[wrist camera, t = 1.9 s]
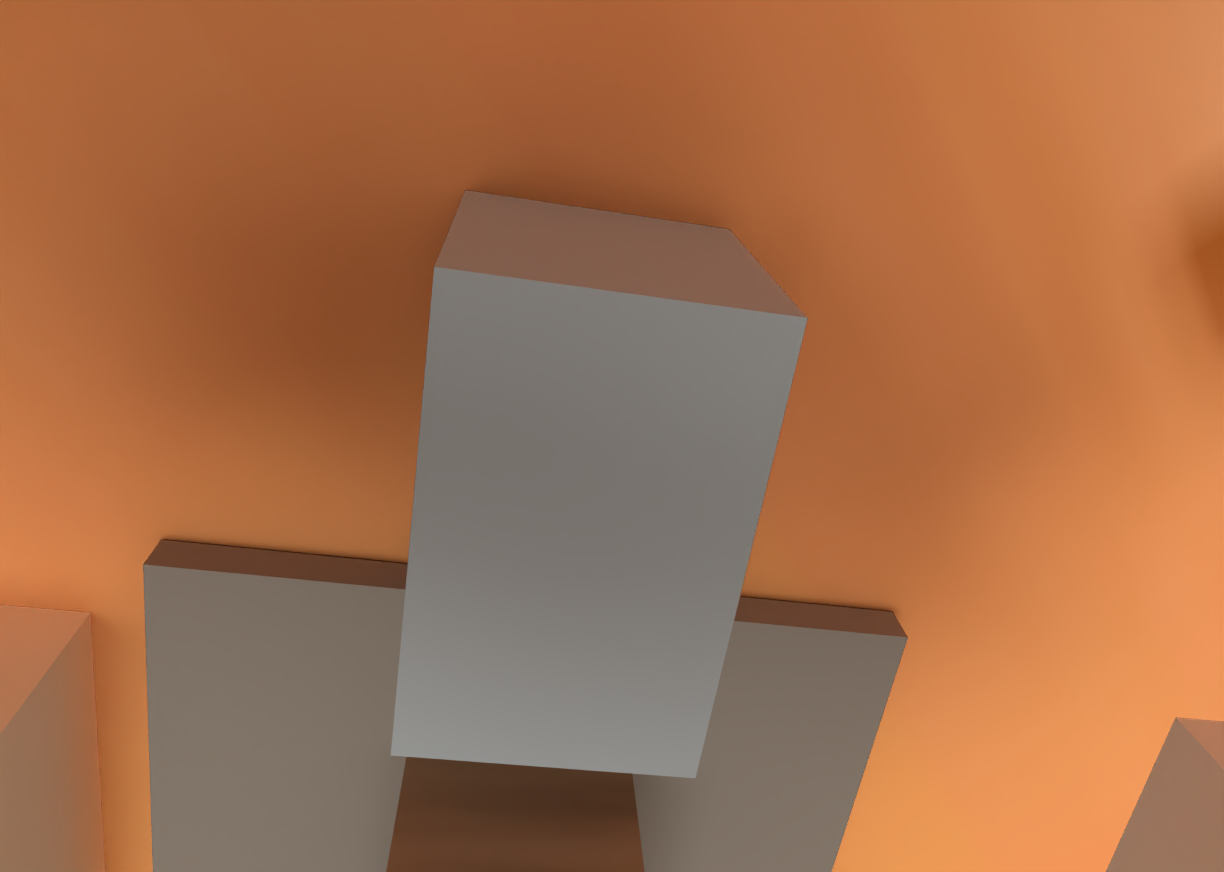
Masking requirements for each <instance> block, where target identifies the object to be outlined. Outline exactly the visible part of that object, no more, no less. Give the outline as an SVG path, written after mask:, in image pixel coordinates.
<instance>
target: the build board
mask: <svg viewBox="0 0 1224 872" xmlns="http://www.w3.org/2000/svg"><path fill="white" fill-rule="evenodd" d="M407 567H408V564H403V563H392V562H382V561H372V560H362V559H352V558H342V557H332V556H322V555H311V554H301V553H291V552H281V551H271V550H261V549H251V548H240V547H230V546H220V545H210V544H200V543H190V542H180V541H169V540H161V541H160V542H159V543H158V545H157V546H156V548H155V549H154V550H153V552H152V553H151V554H150V556H149V557H148V559H147V560H146V561H145V563H144V564H143V571H144V602H145V634H146V666H147V697H148V729H149V761H150V793H151V824H152V856H153V872H386V870H387V864H388V859H389V853H390V847H391V842H392V836H393V830H394V825H395V819H396V813H397V808H398V802H399V796H400V790H401V785H402V779H403V773H404V768H405V762H406V757H405V756H391V747H392V735H393V724H394V713H395V702H396V690H397V679H398V668H399V657H400V645H401V634H402V623H403V612H404V600H405V589H406V578H407ZM907 639H908V637H907V635H906V633H905V632H904V630H903V628H902V627H901V625H900V623H899V622H898V620H897V618H896V617H895V615H894V613H893V612H889V611H879V610H869V609H859V608H849V607H839V606H828V605H818V604H808V603H798V602H788V601H778V600H768V599H757V598H747V597H740V598H739V602H738V606H737V610H736V614H735V618H734V622H733V626H732V631H731V635H730V639H729V643H728V647H727V651H726V655H725V659H724V663H723V667H722V672H721V676H720V680H719V684H718V688H717V692H716V696H715V700H714V704H713V708H712V713H711V717H710V721H709V725H708V729H707V733H706V737H705V741H704V745H703V749H702V754H701V758H700V762H699V766H698V770H697V774H696V778H685V777H672V776H658V775H645V774H632V775H633V783H634V791H635V799H636V807H637V815H638V823H639V831H640V839H641V847H642V855H643V863H644V871H645V872H831V871H832V868H833V865H834V862H835V859H836V856H837V853H838V850H839V847H840V844H841V841H842V838H843V835H844V831H845V828H846V825H847V822H848V819H849V816H850V813H851V810H852V807H853V804H854V801H855V798H856V795H857V792H858V789H859V786H860V782H861V779H862V776H863V773H864V770H865V767H866V764H867V761H868V758H869V755H870V752H871V749H872V746H873V743H874V740H875V737H876V733H877V730H878V727H879V724H880V721H881V718H882V715H883V712H884V709H885V706H886V703H887V700H888V697H889V694H890V691H891V688H892V684H893V681H894V678H895V675H896V672H897V669H898V666H899V663H900V660H901V657H902V654H903V651H904V648H905V645H906V642H907Z"/></svg>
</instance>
